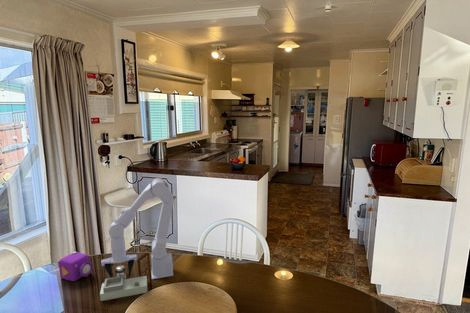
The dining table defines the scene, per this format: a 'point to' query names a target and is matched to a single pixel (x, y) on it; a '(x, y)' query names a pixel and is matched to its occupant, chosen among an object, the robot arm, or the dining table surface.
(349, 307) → the dining table surface
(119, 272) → the lens
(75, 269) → the toy camera
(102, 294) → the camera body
